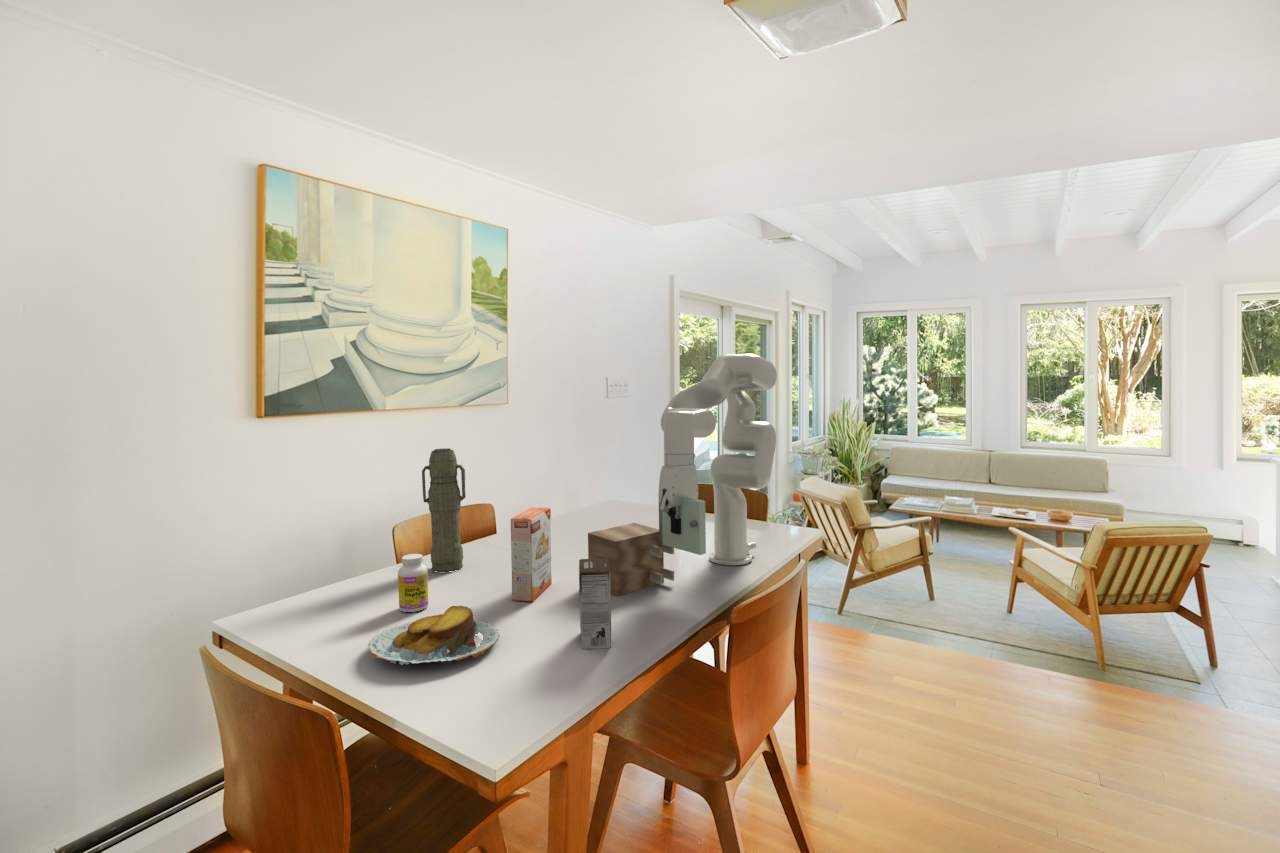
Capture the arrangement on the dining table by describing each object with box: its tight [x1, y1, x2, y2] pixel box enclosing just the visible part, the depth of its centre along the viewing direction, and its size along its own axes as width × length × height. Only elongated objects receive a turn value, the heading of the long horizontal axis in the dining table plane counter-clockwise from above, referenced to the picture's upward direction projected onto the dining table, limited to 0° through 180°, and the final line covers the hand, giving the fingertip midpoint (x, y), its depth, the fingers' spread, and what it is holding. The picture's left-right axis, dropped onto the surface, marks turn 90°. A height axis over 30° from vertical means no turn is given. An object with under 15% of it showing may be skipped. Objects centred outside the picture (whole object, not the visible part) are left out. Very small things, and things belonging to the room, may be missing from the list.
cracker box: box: [510, 507, 552, 603], centre depth 157 cm, size 14×6×21 cm, turn 168°
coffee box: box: [578, 558, 612, 650], centre depth 128 cm, size 9×6×16 cm
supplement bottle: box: [397, 553, 429, 613], centre depth 147 cm, size 7×7×13 cm
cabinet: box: [587, 522, 675, 597], centre depth 161 cm, size 16×16×14 cm
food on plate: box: [368, 605, 500, 666], centre depth 126 cm, size 25×25×7 cm
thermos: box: [421, 448, 466, 573], centre depth 178 cm, size 9×12×35 cm
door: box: [658, 493, 707, 556], centre depth 153 cm, size 3×15×13 cm, turn 40°
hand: (679, 532), depth 154 cm, fingers closed on door, 2 cm apart
